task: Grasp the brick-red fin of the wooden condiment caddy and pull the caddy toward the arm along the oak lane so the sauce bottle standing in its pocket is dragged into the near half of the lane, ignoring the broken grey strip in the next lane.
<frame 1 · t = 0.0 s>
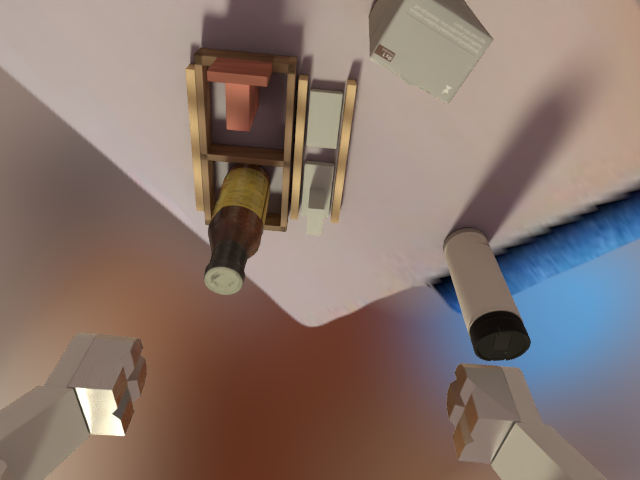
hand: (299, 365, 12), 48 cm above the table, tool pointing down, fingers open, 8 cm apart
skincare box: (410, 9, 51), on the table
wooden condiment caddy: (244, 157, 57), point 4 cm above the table, slide at 0.0 cm
sauce bottle: (249, 181, 64), resting in wooden condiment caddy
travel mug: (464, 242, 69), on the table
broken grey strip: (320, 154, 61), on the table
oak lane rails: (260, 145, 61), on the table
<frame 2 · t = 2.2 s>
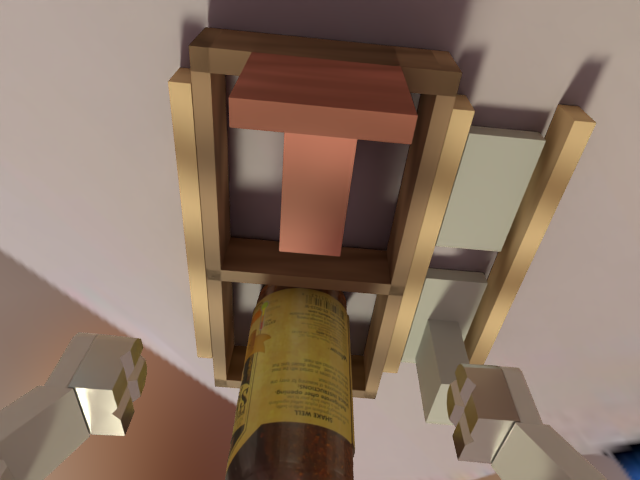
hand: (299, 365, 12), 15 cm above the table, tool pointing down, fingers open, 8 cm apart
wooden condiment caddy: (306, 282, 25), point 4 cm above the table, slide at 0.0 cm
sauce bottle: (303, 301, 32), resting in wooden condiment caddy
broken grey strip: (457, 257, 29), on the table
oak lane rails: (332, 240, 28), on the table
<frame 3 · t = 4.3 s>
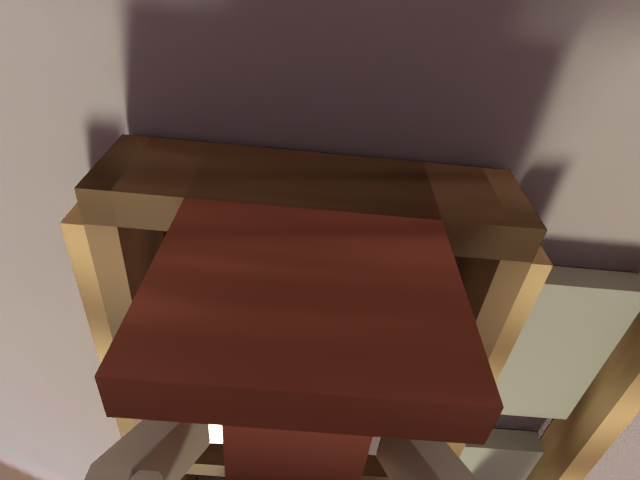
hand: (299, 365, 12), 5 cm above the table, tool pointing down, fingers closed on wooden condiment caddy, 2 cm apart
broken grey strip: (502, 415, 21), on the table
oak lane rails: (328, 395, 20), on the table
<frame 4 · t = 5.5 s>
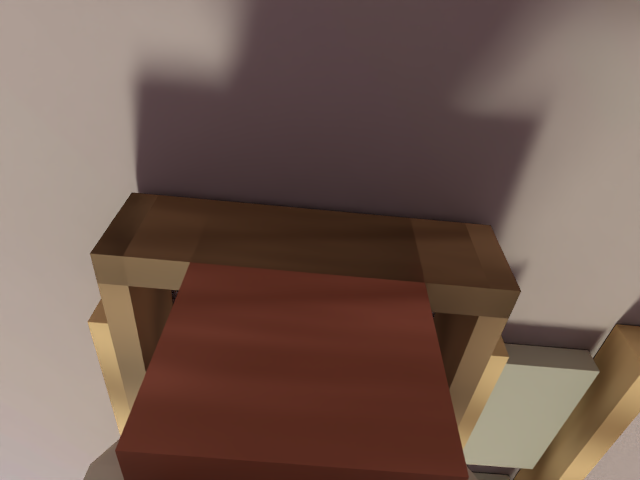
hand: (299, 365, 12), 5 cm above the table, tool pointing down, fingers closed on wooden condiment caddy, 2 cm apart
broken grey strip: (476, 462, 23), on the table
oak lane rails: (319, 444, 23), on the table
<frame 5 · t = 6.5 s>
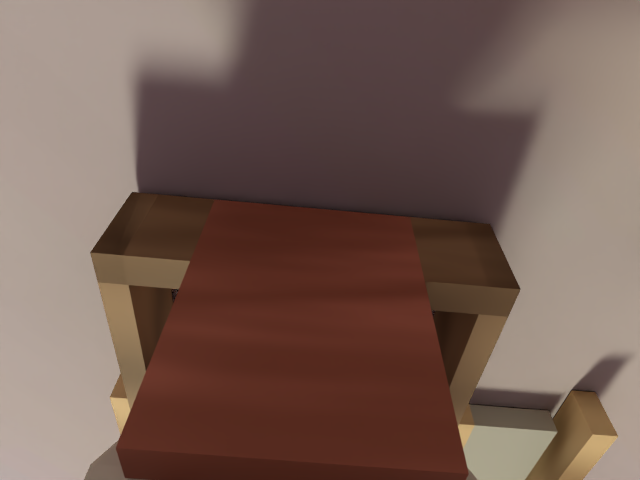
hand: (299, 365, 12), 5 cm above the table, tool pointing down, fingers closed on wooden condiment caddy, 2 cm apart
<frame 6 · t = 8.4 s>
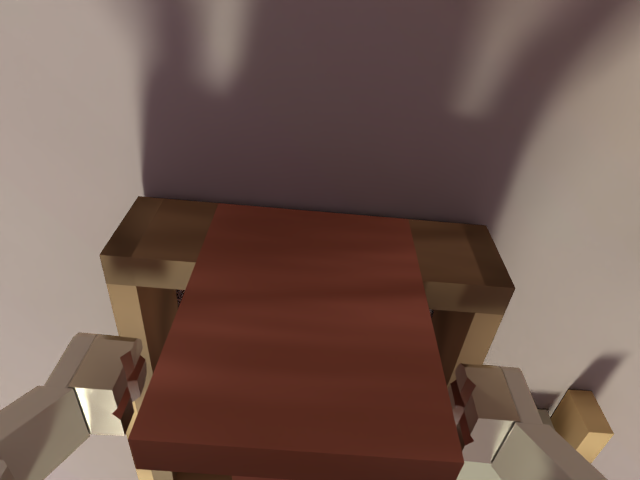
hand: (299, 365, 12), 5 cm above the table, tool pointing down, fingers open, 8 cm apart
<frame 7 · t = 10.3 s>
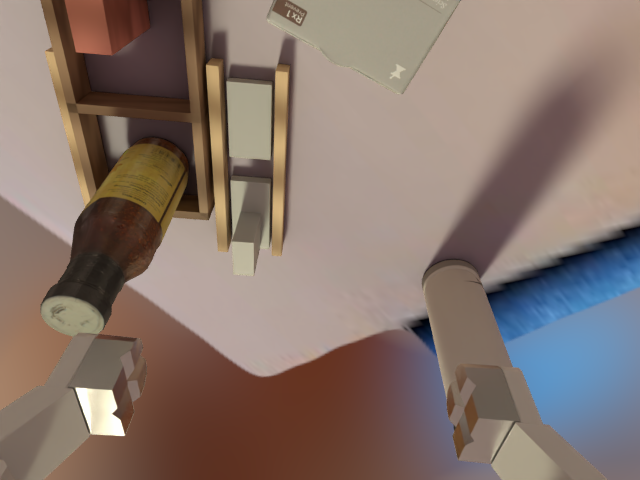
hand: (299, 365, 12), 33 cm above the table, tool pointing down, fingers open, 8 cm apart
wooden condiment caddy: (128, 106, 38), point 4 cm above the table, slide at 6.1 cm
sauce bottle: (161, 164, 46), resting in wooden condiment caddy
travel mug: (449, 277, 53), on the table
broken grey strip: (251, 167, 46), on the table
oak lane rails: (169, 156, 45), on the table
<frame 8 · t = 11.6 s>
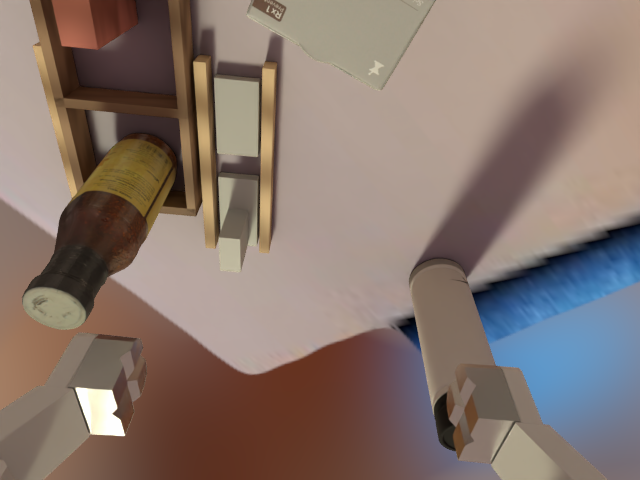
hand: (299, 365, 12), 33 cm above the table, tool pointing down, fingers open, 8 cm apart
wooden condiment caddy: (115, 101, 38), point 4 cm above the table, slide at 6.1 cm
sauce bottle: (149, 160, 46), resting in wooden condiment caddy
travel mug: (436, 276, 54), on the table
broken grey strip: (239, 164, 46), on the table
oak lane rails: (158, 152, 45), on the table
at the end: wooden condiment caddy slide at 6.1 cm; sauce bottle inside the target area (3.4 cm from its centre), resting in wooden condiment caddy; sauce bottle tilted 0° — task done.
